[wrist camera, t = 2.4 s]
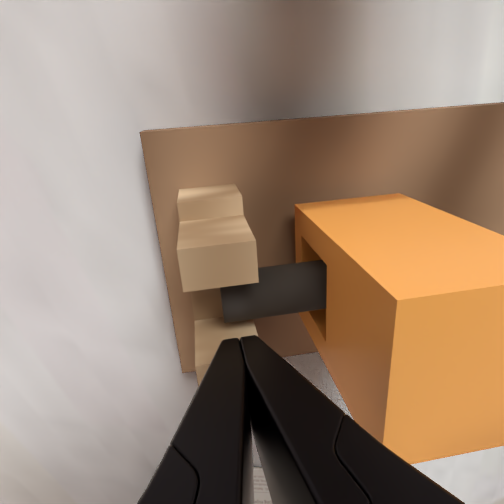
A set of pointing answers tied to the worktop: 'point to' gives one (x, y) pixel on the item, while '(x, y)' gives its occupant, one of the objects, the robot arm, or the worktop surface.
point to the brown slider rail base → (283, 210)
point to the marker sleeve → (410, 321)
